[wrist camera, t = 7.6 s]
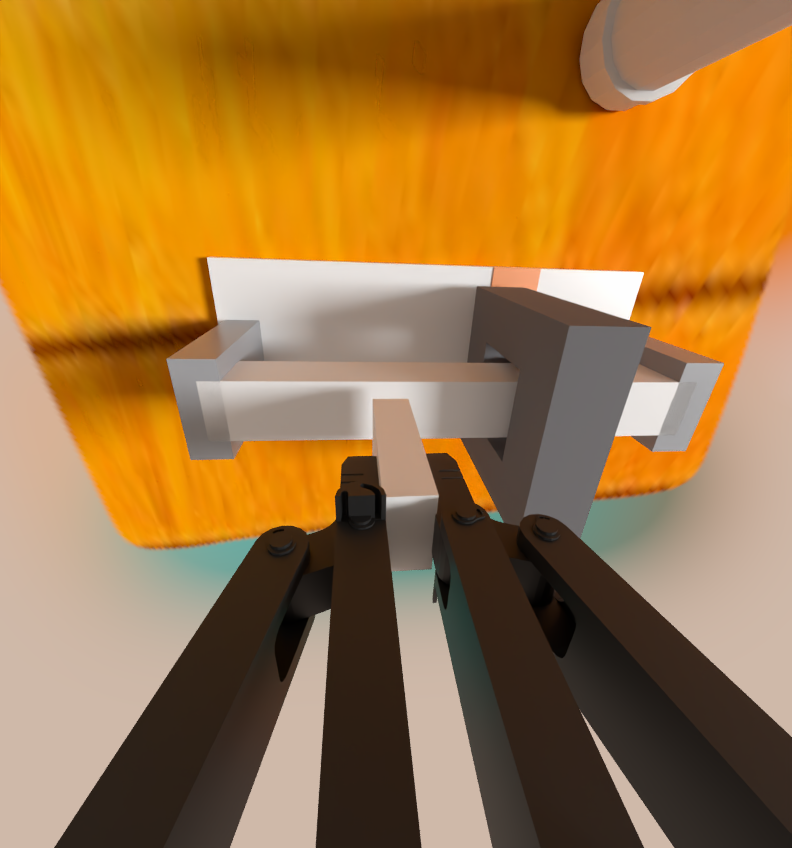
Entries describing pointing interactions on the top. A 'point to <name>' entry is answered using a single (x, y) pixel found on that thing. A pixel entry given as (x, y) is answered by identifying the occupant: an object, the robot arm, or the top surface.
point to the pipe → (667, 43)
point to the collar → (552, 399)
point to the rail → (393, 354)
